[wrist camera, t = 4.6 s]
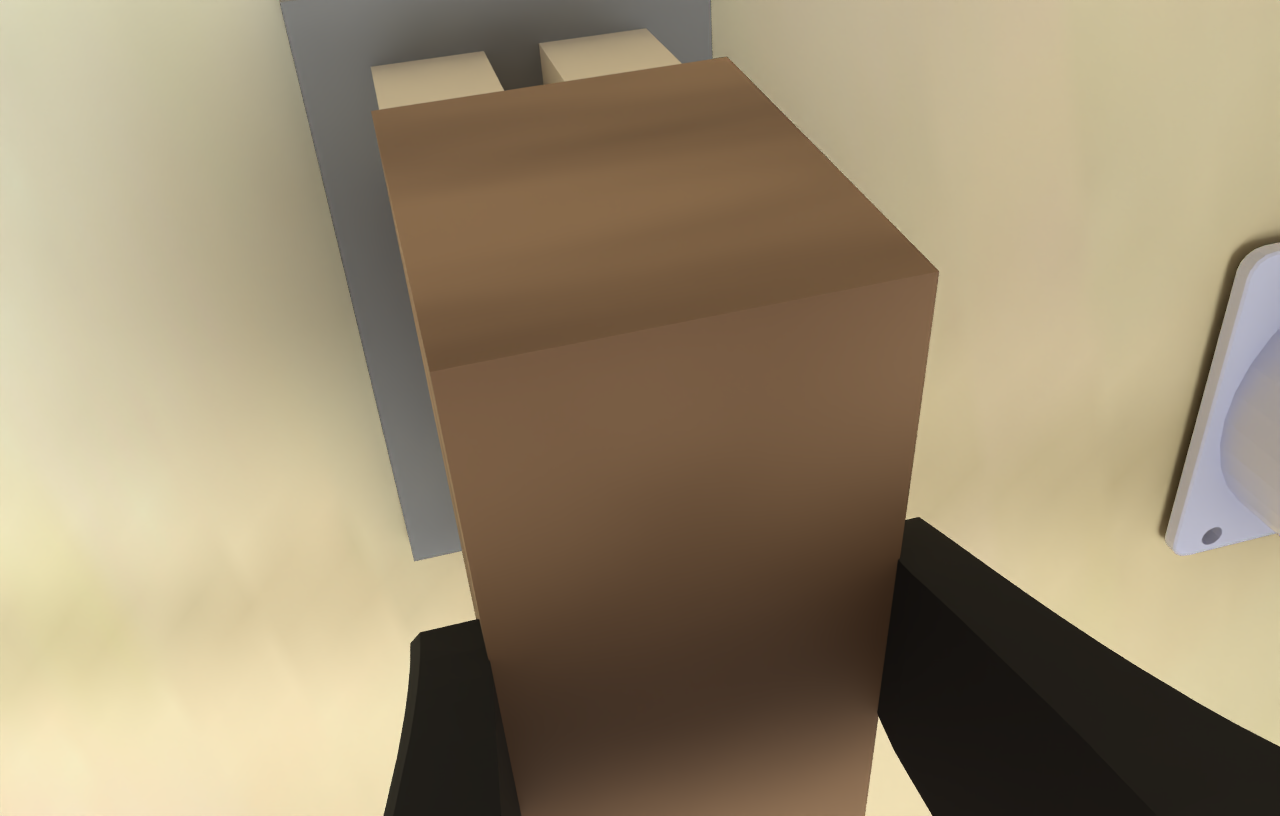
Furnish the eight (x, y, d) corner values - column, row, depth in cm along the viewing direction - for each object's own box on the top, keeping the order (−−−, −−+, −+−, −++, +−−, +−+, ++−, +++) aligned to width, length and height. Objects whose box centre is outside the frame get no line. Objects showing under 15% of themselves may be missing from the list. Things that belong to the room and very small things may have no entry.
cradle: (280, -9, 15) (277, 51, 13) (696, -61, 16) (767, -15, 14) (411, 540, 21) (427, 654, 18) (714, 475, 22) (767, 574, 19)
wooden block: (727, 639, 19) (850, 917, 15) (493, 700, 18) (559, 1008, 14) (726, 56, 12) (938, 270, 9) (370, 111, 12) (430, 371, 8)
